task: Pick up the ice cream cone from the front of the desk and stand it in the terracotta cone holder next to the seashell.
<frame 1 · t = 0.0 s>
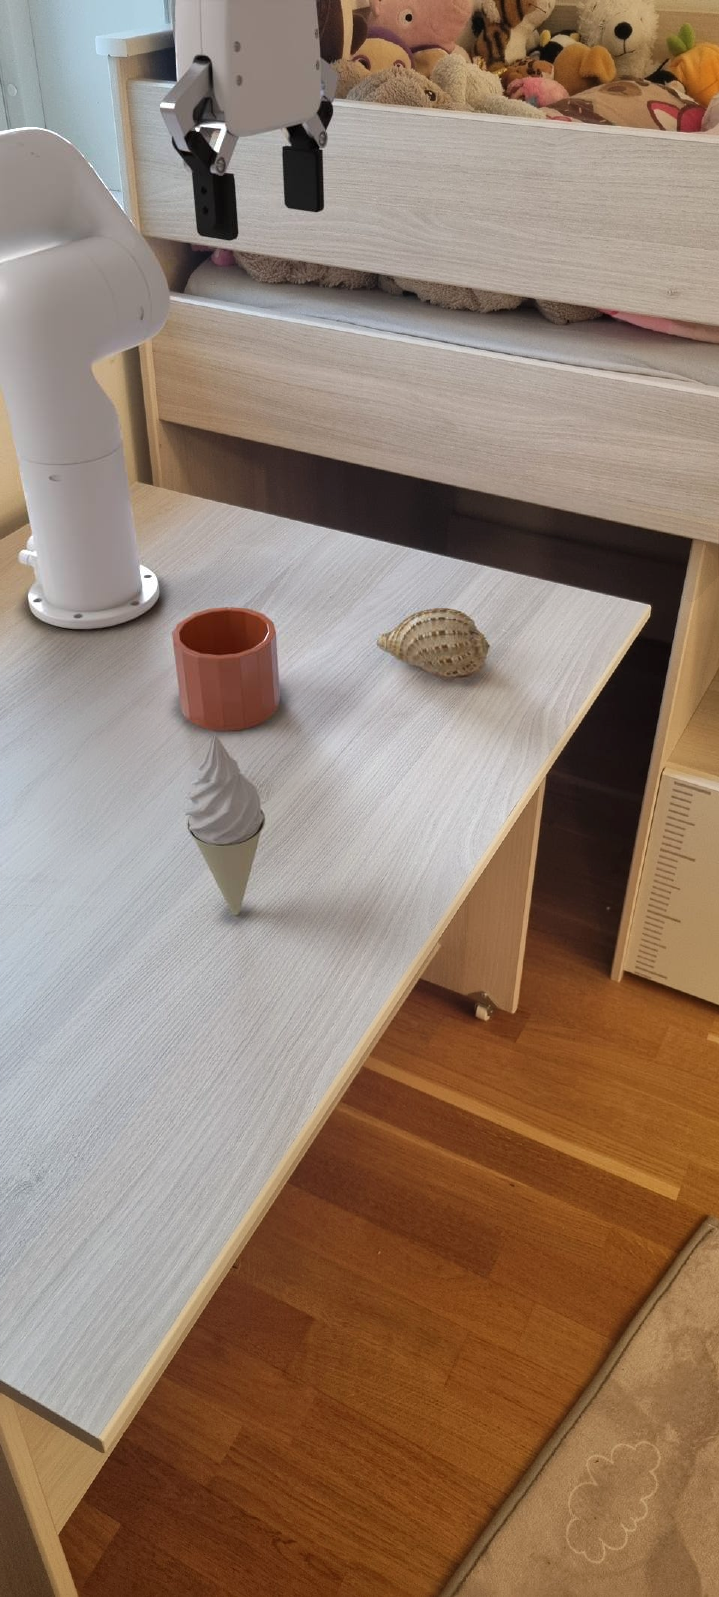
hand: (262, 222, 84), 37 cm above the table, tool pointing down, fingers open, 9 cm apart
seashell: (432, 665, 107), on the table
ice cream cone: (235, 915, 82), on the table
cone holder: (230, 703, 102), on the table
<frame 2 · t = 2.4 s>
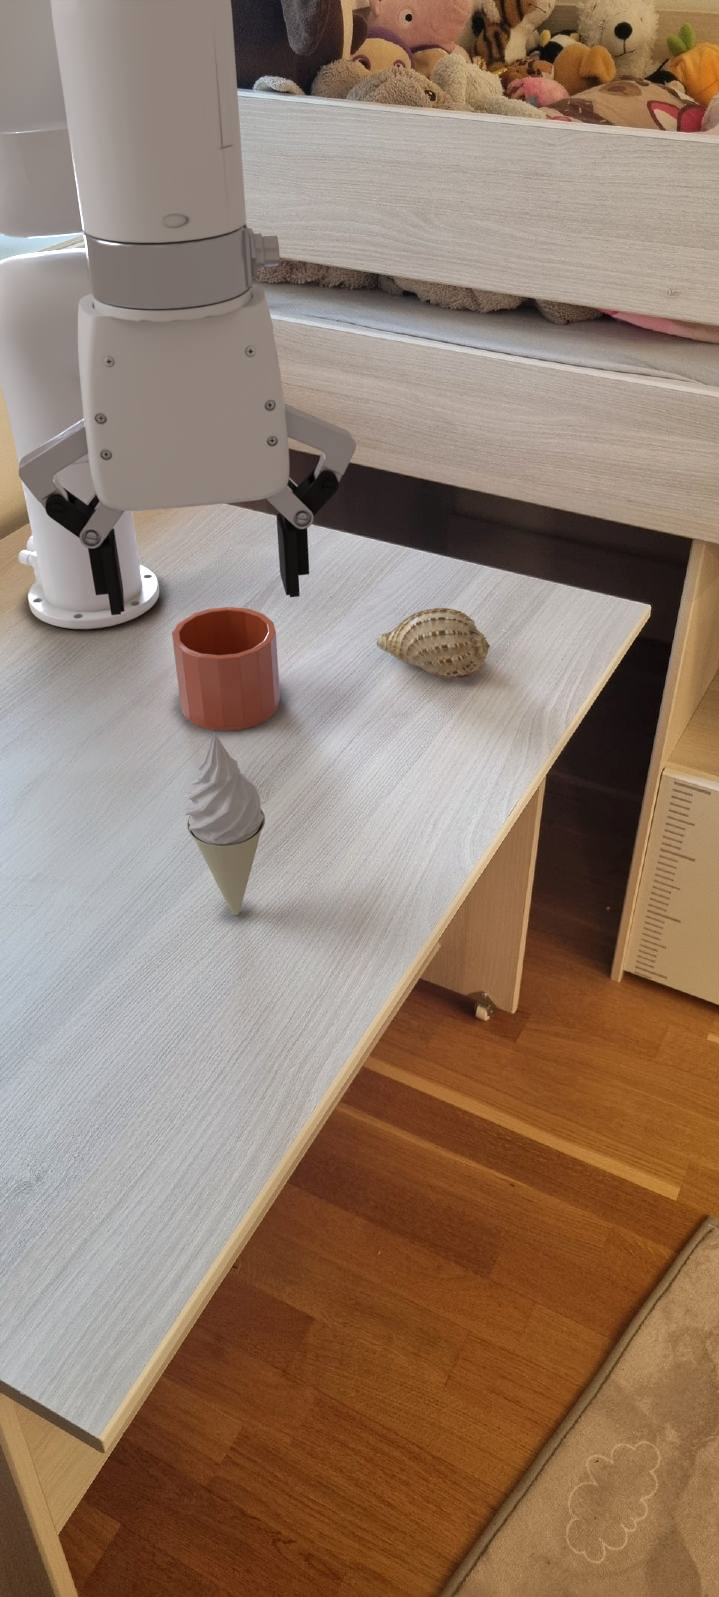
hand: (204, 594, 67), 24 cm above the table, tool pointing down, fingers open, 9 cm apart
nothing on the table moved.
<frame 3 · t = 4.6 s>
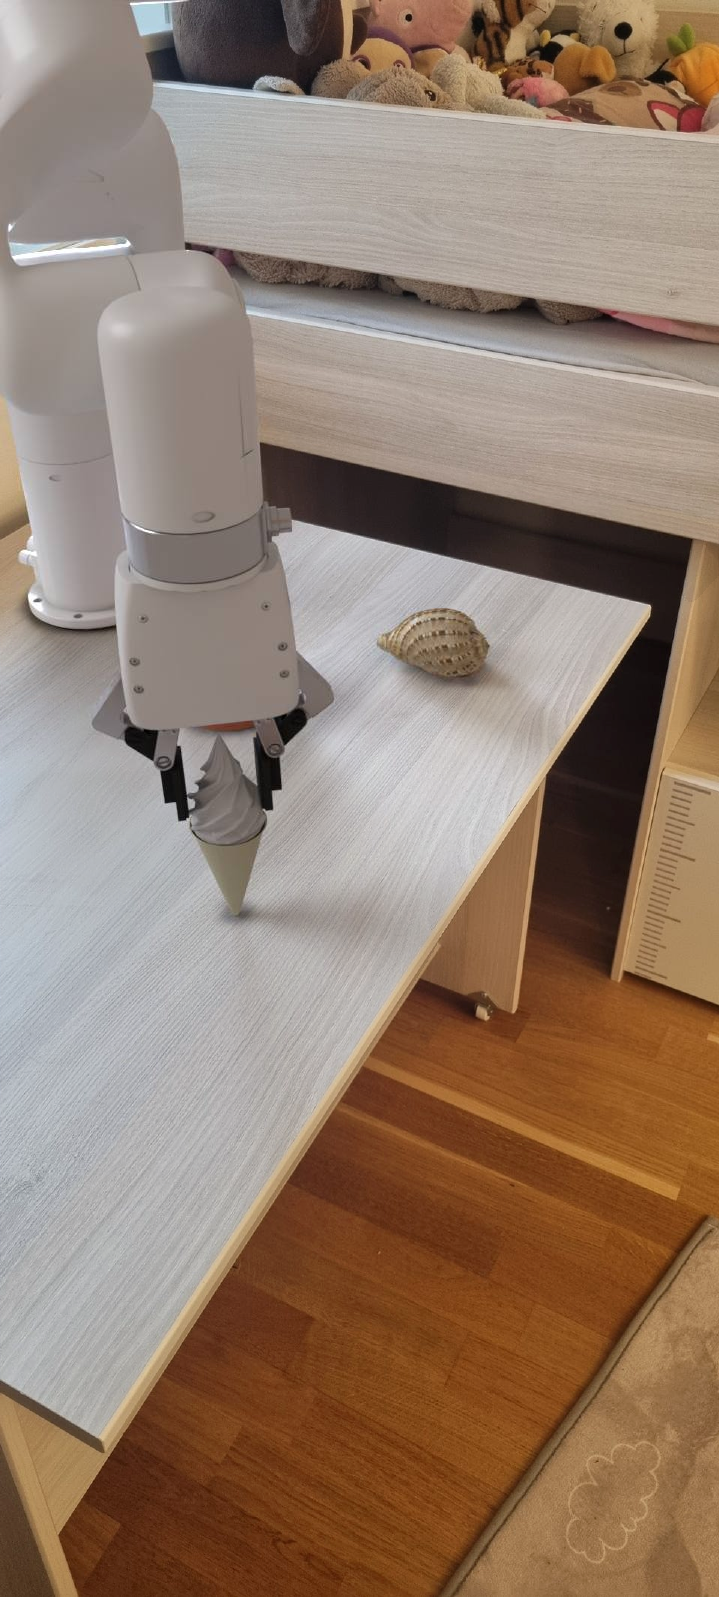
hand: (223, 800, 76), 10 cm above the table, tool pointing down, fingers closed on ice cream cone, 4 cm apart
ice cream cone: (235, 915, 82), on the table, touching gripper
everything else where it was.
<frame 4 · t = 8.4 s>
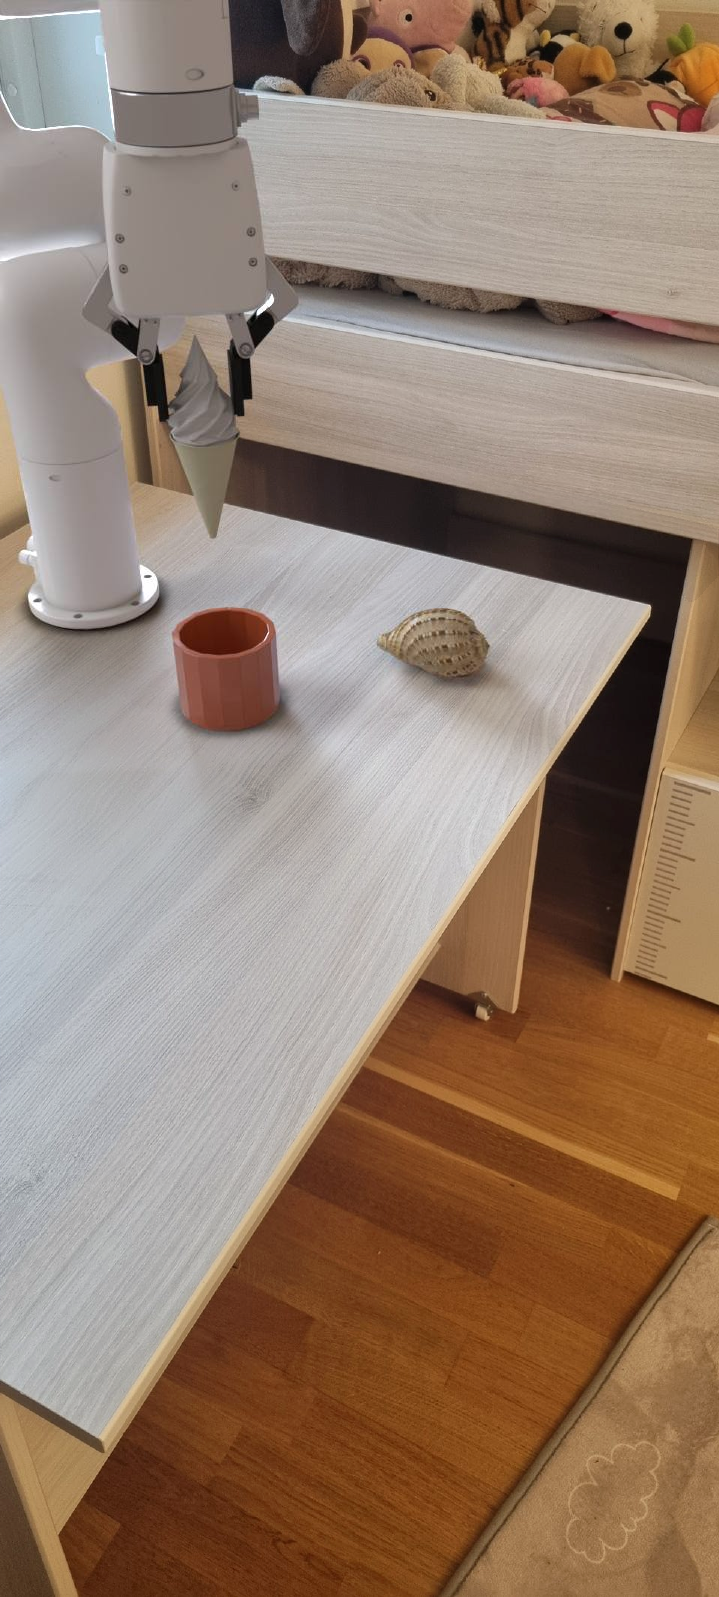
hand: (200, 409, 84), 26 cm above the table, tool pointing down, fingers closed on ice cream cone, 4 cm apart
ice cream cone: (213, 539, 91), point 16 cm above the table, touching gripper
everything else where it was.
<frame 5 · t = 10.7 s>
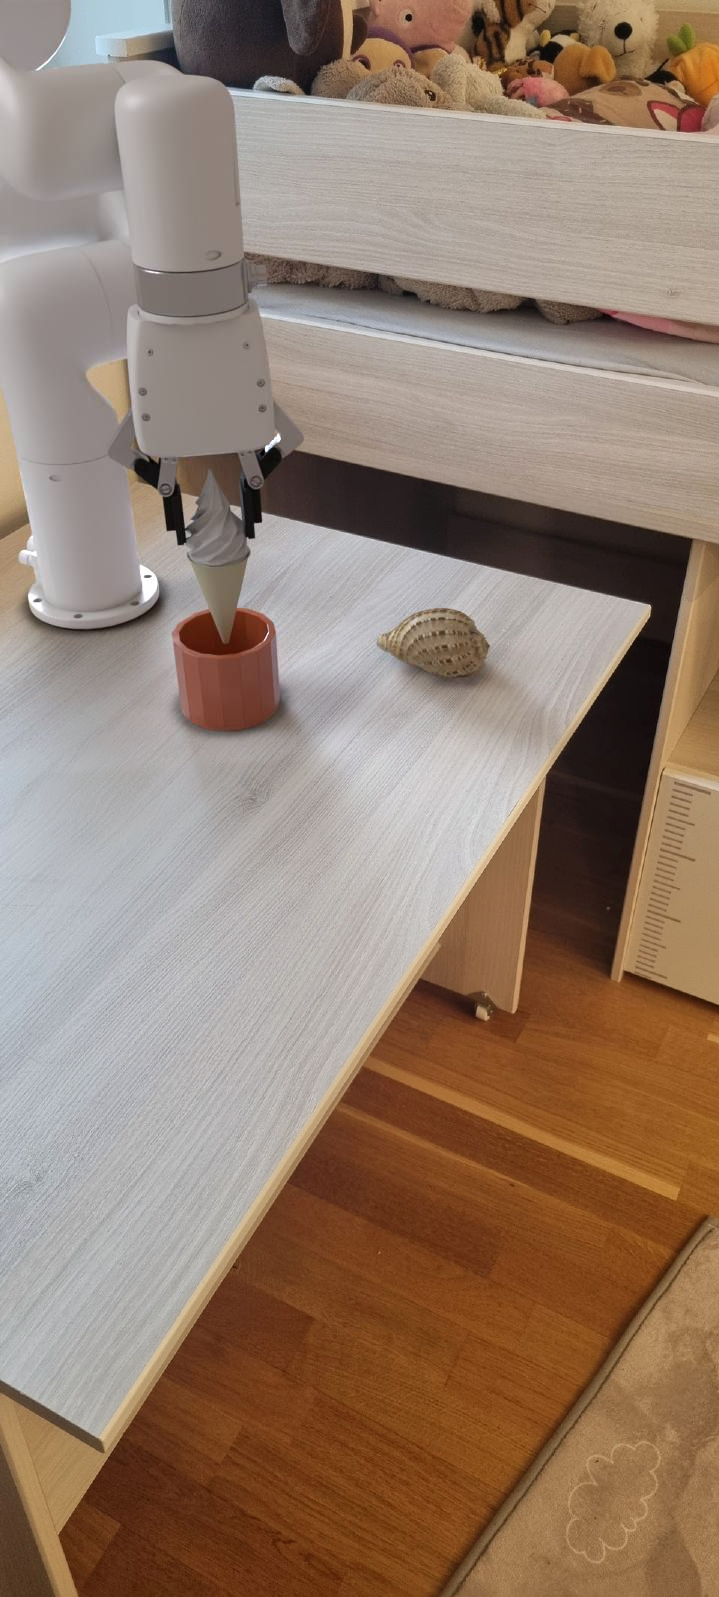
hand: (214, 532, 93), 16 cm above the table, tool pointing down, fingers closed on ice cream cone, 4 cm apart
ice cream cone: (225, 644, 99), point 6 cm above the table, touching gripper
everything else where it was.
when the fingers open (10 cm above the table, at t = 12.4 s): ice cream cone stays where it is, resting on cone holder.
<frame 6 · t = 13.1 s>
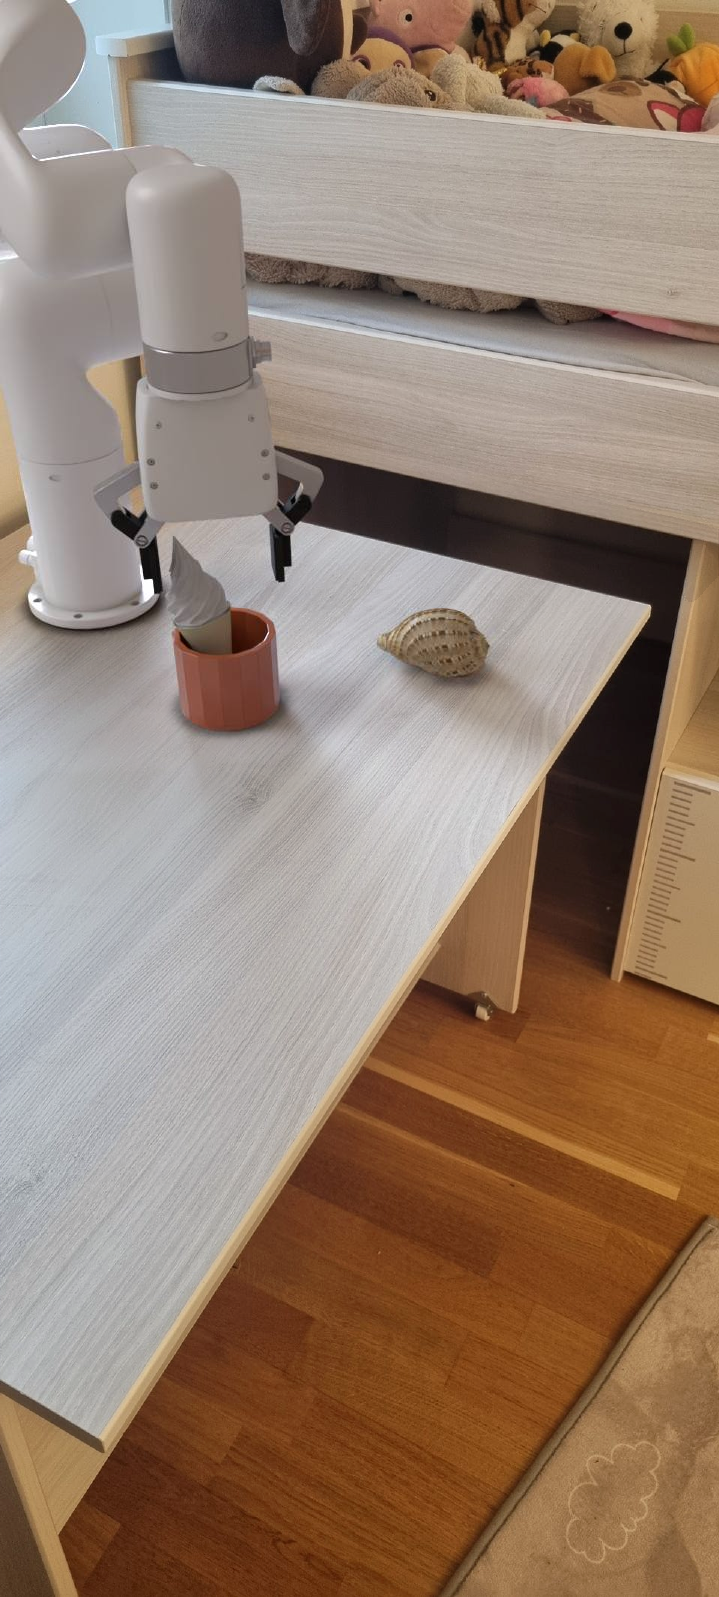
hand: (218, 580, 95), 12 cm above the table, tool pointing down, fingers open, 9 cm apart
ice cream cone: (231, 699, 102), resting on cone holder
everything else where it was.
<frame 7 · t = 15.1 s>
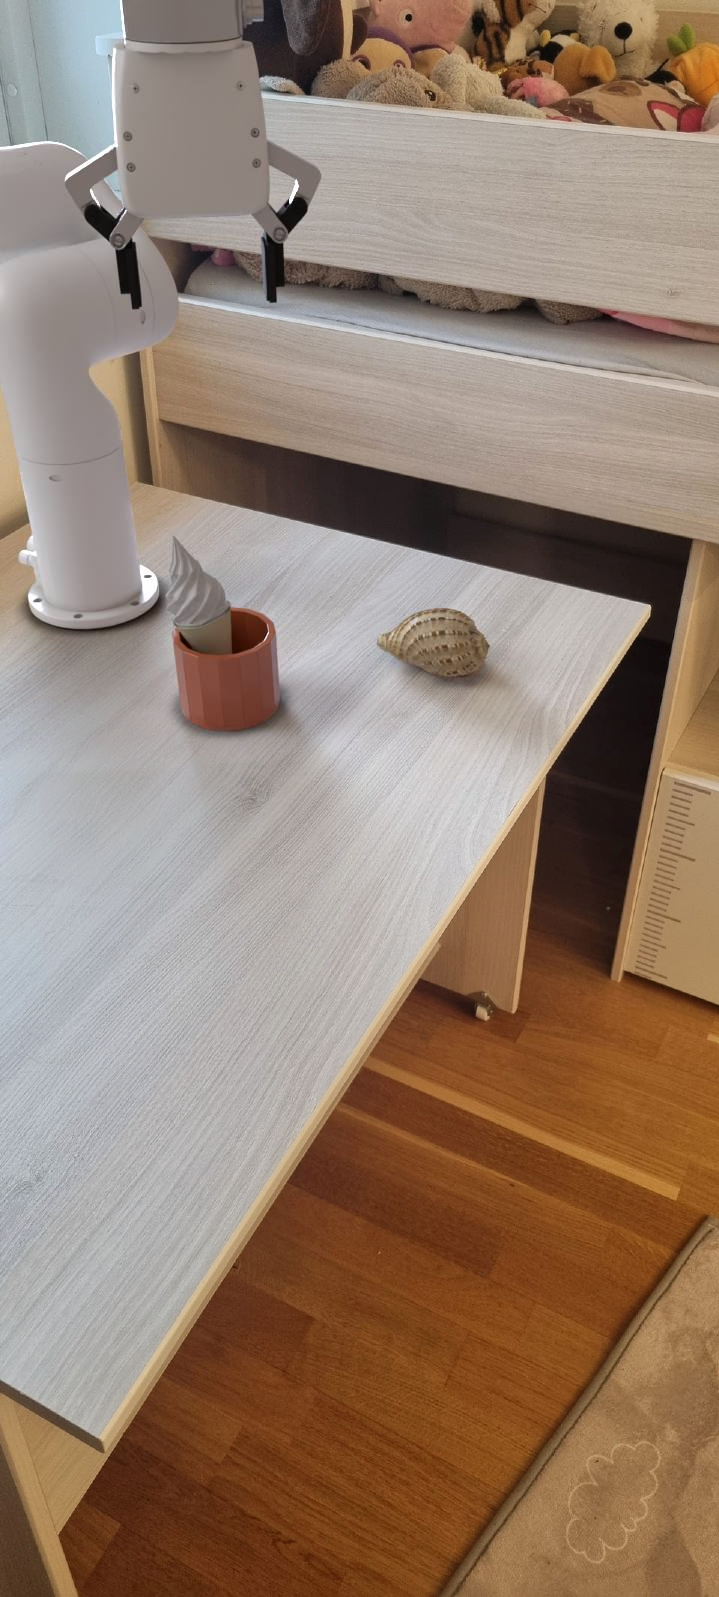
hand: (203, 300, 86), 32 cm above the table, tool pointing down, fingers open, 9 cm apart
nothing on the table moved.
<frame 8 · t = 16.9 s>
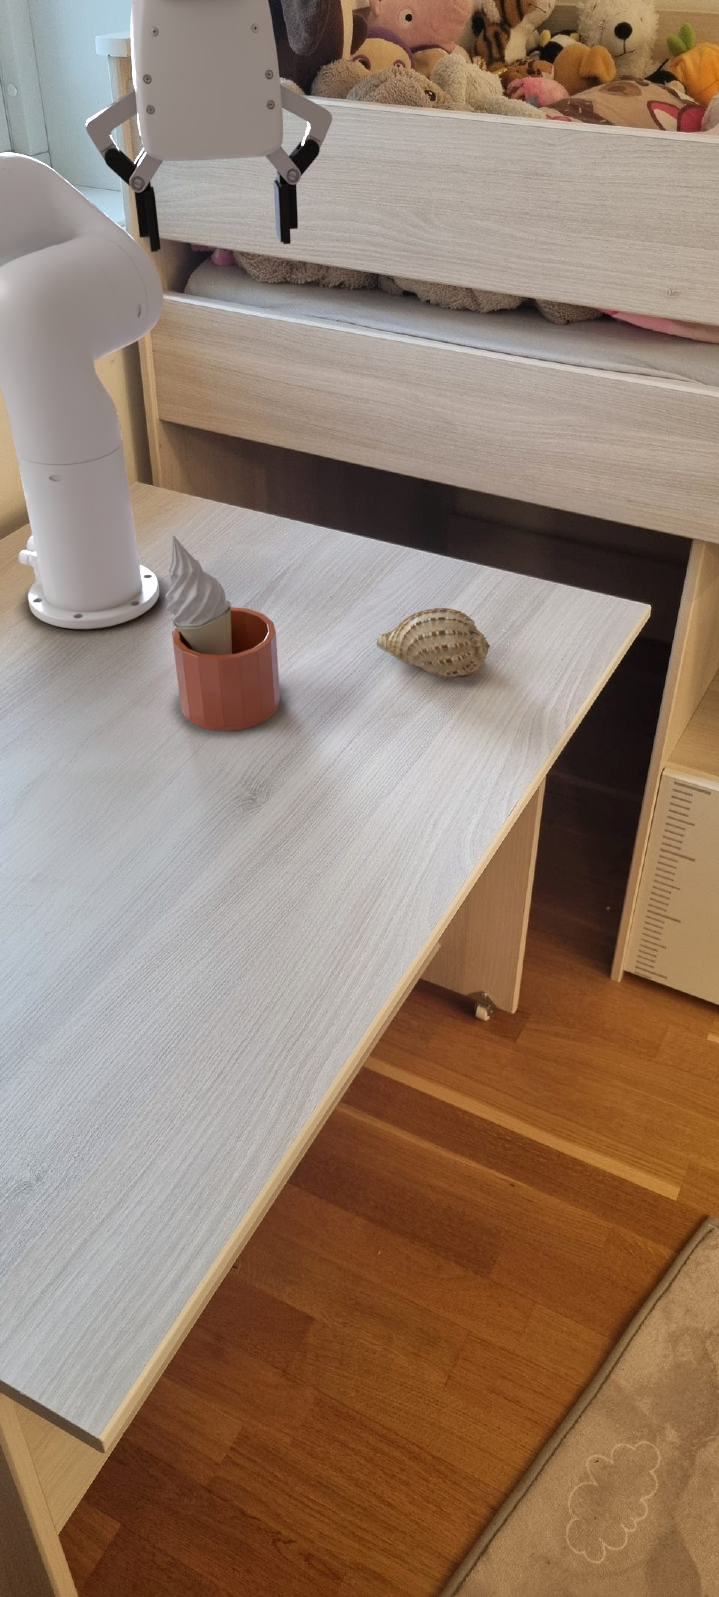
hand: (219, 243, 89), 34 cm above the table, tool pointing down, fingers open, 9 cm apart
nothing on the table moved.
at the end: ice cream cone 0.1 cm off-centre in the cone holder, point 0.4 cm above the cone holder's base; ice cream cone tilted 13° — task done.
